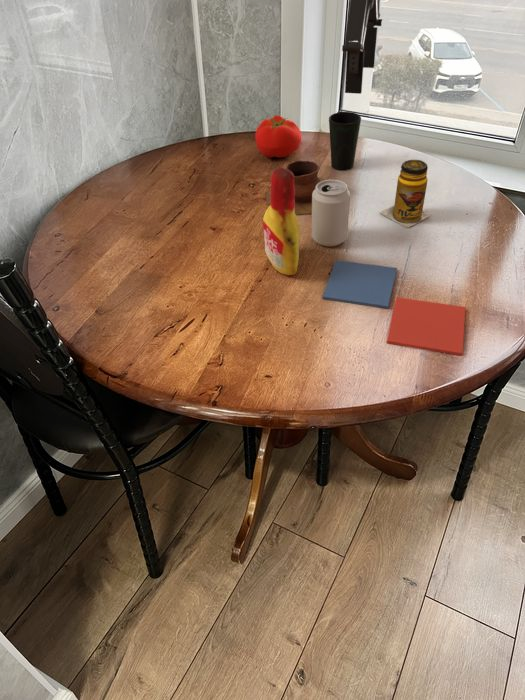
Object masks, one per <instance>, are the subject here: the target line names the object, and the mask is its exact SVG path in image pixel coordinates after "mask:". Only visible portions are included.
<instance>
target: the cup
mask: <svg viewBox="0 0 525 700" xmlns="http://www.w3.org/2000/svg"><path fill="white" fill-rule="evenodd" d="M361 122H362V117H361V115H360V114H358V113H355V112H352V111H339V112H335V113H332V114H330V116H329V117H328V126H329V127H328V128H329V143H330V145H329V146H330V163H331V164H330V165H331V168H332V169H334V170H335V171H339V172H340V171H341V172H344V171H348V170H351V169H353V168H354V165H355V159H356V152H357V146H358V141H359V135H360V129H361Z"/></svg>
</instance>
